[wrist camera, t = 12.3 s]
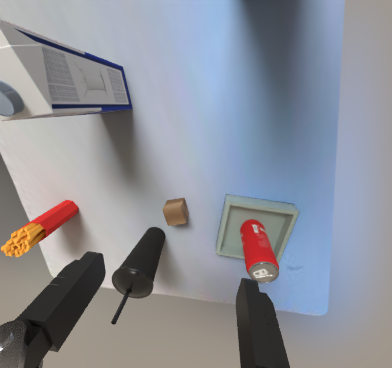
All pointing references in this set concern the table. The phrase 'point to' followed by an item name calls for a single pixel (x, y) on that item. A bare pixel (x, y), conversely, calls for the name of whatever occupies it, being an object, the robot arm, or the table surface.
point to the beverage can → (258, 252)
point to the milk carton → (54, 78)
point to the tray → (261, 211)
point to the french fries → (39, 228)
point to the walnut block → (175, 211)
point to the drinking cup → (139, 268)
